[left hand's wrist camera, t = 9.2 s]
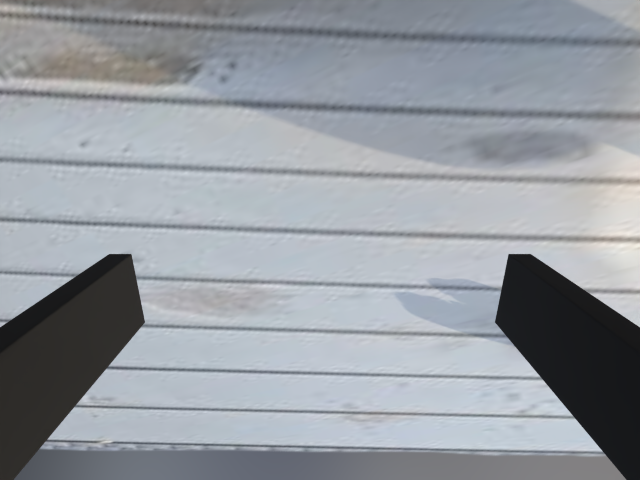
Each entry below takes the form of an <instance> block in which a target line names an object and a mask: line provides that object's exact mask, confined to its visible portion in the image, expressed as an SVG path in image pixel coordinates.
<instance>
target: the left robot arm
mask: <svg viewBox="0 0 640 480" xmlns="http://www.w3.org/2000/svg"><path fill="white" fill-rule="evenodd" d="M144 323H145V320H144V315H143V310H142V305H141V300H140V295H139V290H138V285H137V280H136V275H135V270H134V265H133V260H132V255H131V254H109V255H107V256H106V257H104V258H103V259H101V260H100V261H98V262H97V263H95V264H94V265H92V266H91V267H89V268H88V269H87V270H85V271H84V272H82V273H81V274H79V275H78V276H76V277H75V278H73V279H72V280H70V281H69V282H67V283H66V284H64V285H63V286H61V287H60V288H58V289H57V290H55V291H54V292H52V293H51V294H49V295H48V296H46V297H45V298H43V299H42V300H40V301H39V302H37V303H36V304H34V305H33V306H31V307H30V308H28V309H27V310H25V311H24V312H22V313H21V314H20V315H18V316H17V317H15V318H14V319H12V320H11V321H9V322H8V323H6V324H5V325H3V326H2V327H0V480H14V478H15V477H16V476H17V475H18V474H19V472H20V471H21V470H22V469H23V468H24V466H25V465H26V464H27V463H28V462H29V460H30V459H31V458H32V457H33V456H34V454H35V453H36V452H37V451H38V450H39V448H40V447H41V446H42V445H43V444H44V442H45V441H46V440H47V439H48V438H49V436H50V435H51V434H52V433H53V432H54V431H55V429H56V428H57V427H58V426H59V425H60V423H61V422H62V421H63V420H64V419H65V417H66V416H67V415H68V414H69V413H70V411H71V410H72V409H73V408H74V407H75V405H76V404H77V403H78V402H79V401H80V399H81V398H82V397H83V396H84V395H85V393H86V392H87V391H88V390H89V389H90V387H91V386H92V385H93V384H94V383H95V381H96V380H97V379H98V378H99V377H100V375H101V374H102V373H103V372H104V371H105V369H106V368H107V367H108V366H109V365H110V363H111V362H112V361H113V360H114V359H115V357H116V356H117V355H118V354H119V353H120V351H121V350H122V349H123V348H124V347H125V346H126V344H127V343H128V342H129V341H130V340H131V338H132V337H133V336H134V335H135V334H136V332H137V331H138V330H139V329H140V328H141V326H142V325H143V324H144ZM495 323H496V324H497V325H498V326H499V328H500V329H501V330H502V331H503V332H504V334H505V335H506V336H507V337H508V338H509V340H510V341H511V342H512V343H513V344H514V346H515V347H516V348H517V349H518V350H519V351H520V353H521V354H522V355H523V356H524V357H525V359H526V360H527V361H528V362H529V363H530V365H531V366H532V367H533V368H534V369H535V371H536V372H537V373H538V374H539V375H540V377H541V378H542V379H543V380H544V381H545V383H546V384H547V385H548V386H549V387H550V389H551V390H552V391H553V392H554V393H555V395H556V396H557V397H558V398H559V399H560V401H561V402H562V403H563V404H564V405H565V407H566V408H567V409H568V410H569V411H570V413H571V414H572V415H573V416H574V417H575V419H576V420H577V421H578V422H579V423H580V425H581V426H582V427H583V428H584V429H585V431H586V432H587V433H588V434H589V435H590V436H591V438H592V439H593V440H594V441H595V442H596V444H597V445H598V446H599V447H600V448H601V450H602V451H603V452H604V453H605V454H606V456H607V457H608V458H609V459H610V460H611V462H612V463H613V464H614V465H615V466H616V468H617V469H618V470H619V471H620V472H621V474H622V475H623V476H624V477H625V478H626V480H640V327H638V326H637V325H635V324H634V323H632V322H631V321H629V320H628V319H626V318H625V317H623V316H622V315H620V314H619V313H618V312H616V311H615V310H613V309H612V308H610V307H609V306H607V305H606V304H604V303H603V302H601V301H600V300H598V299H597V298H595V297H594V296H592V295H591V294H589V293H588V292H586V291H585V290H583V289H582V288H580V287H579V286H577V285H576V284H574V283H573V282H571V281H570V280H568V279H567V278H565V277H564V276H562V275H561V274H559V273H558V272H556V271H555V270H553V269H552V268H551V267H549V266H548V265H546V264H545V263H543V262H542V261H540V260H539V259H537V258H536V257H534V256H533V255H531V254H509V255H508V260H507V265H506V270H505V275H504V280H503V285H502V290H501V295H500V300H499V305H498V310H497V315H496V320H495Z"/></svg>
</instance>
